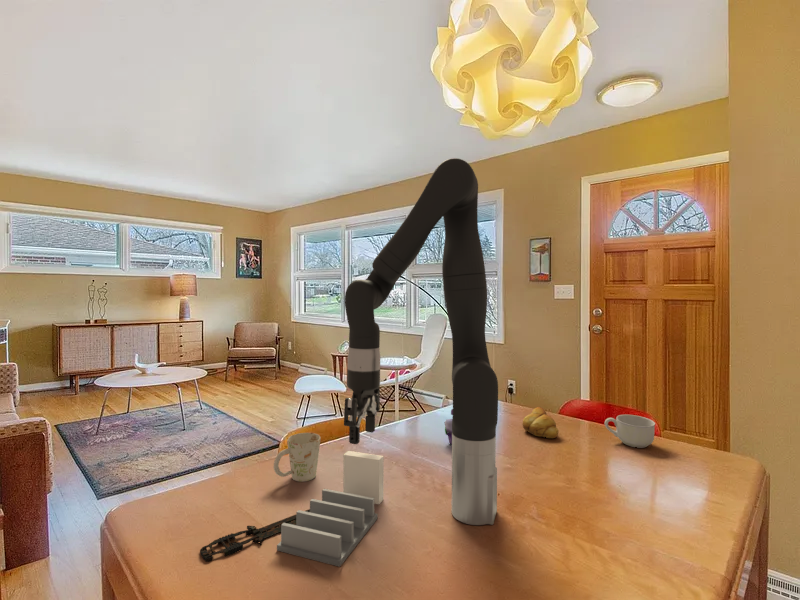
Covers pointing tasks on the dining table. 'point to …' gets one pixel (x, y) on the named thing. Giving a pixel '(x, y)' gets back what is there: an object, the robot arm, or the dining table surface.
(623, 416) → the teacup
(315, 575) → the dining table surface
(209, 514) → the dining table surface
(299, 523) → the dish rack
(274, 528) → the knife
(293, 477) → the mug
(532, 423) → the bread roll
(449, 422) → the potion bottle
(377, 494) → the cream rectangular block
